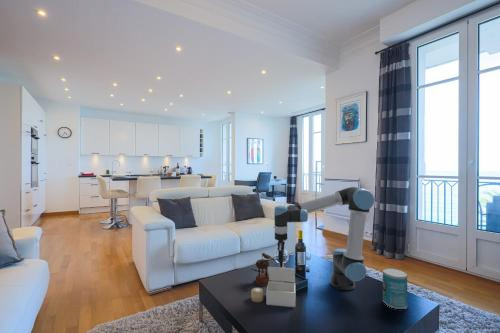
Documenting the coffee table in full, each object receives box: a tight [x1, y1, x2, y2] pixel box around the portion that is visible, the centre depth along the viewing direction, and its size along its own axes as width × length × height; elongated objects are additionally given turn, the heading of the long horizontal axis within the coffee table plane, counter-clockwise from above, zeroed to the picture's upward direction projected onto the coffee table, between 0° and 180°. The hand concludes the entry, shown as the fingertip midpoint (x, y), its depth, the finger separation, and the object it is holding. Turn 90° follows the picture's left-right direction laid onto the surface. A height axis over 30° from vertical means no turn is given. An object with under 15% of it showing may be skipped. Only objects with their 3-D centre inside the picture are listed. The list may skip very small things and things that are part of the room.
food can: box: [382, 267, 408, 310], centre depth 143 cm, size 12×12×18 cm
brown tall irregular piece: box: [250, 252, 274, 287], centre depth 171 cm, size 15×11×20 cm
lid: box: [267, 266, 296, 283], centre depth 151 cm, size 16×12×1 cm
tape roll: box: [250, 287, 264, 303], centre depth 150 cm, size 7×7×5 cm
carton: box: [265, 280, 296, 308], centre depth 148 cm, size 16×12×8 cm
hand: (281, 271), depth 152 cm, fingers closed
